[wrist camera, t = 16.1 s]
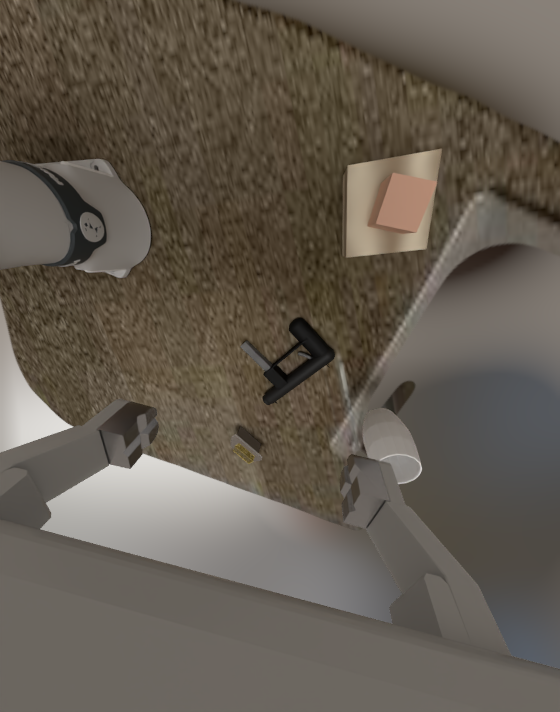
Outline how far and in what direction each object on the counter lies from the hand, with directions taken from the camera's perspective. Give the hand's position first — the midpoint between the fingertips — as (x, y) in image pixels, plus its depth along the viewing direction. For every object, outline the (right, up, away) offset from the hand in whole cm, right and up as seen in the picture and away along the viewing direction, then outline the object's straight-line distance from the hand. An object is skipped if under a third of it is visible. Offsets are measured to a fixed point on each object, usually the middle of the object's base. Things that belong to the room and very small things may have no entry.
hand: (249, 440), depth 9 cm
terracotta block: (+16, +23, +21) cm, 36 cm away
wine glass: (+21, -3, +41) cm, 46 cm away
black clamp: (+1, +3, +41) cm, 41 cm away
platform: (-7, -19, +53) cm, 57 cm away
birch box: (+17, +26, +27) cm, 41 cm away
